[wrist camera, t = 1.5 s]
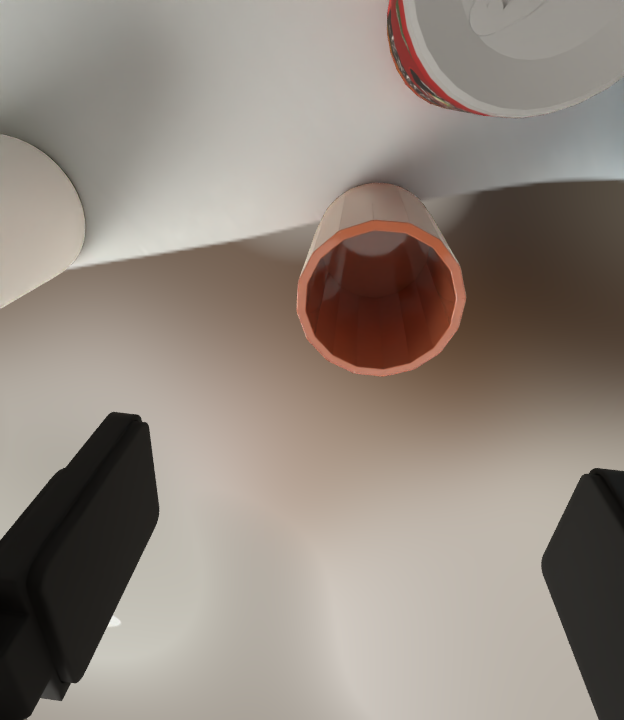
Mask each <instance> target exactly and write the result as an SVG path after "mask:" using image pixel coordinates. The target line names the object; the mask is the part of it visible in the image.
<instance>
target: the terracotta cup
mask: <svg viewBox="0 0 624 720" xmlns="http://www.w3.org/2000/svg"><path fill="white" fill-rule="evenodd" d="M465 301H466V293H465V288H464V283H463V277H462V272H461V267H460V265H459V263H458V261H457V260H456V258H455V256H454V255H453V253H452V251H451V249H450V247H449V245H448V244H447V242H446V240H445V238H444V237H443V235H442V233H441V232H440V230H439V228H438V226H437V224H436V222H435V221H434V219H433V217H432V216H431V214H430V213H429V212H428V210H427V209H426V207H425V206H424V204H423V203H422V202H421V201H420V199H419V198H418V197H416V196H415V195H414V194H412V193H411V192H409V191H408V190H406V189H404V188H402V187H400V186H396V185H393V184H388V183H367V184H363V185H359V186H357V187H354V188H352V189H350V190H348V191H346V192H345V193H343V194H342V195H340V196H339V197H338V198H337V199H336V200H335V201H334V202H333V203H332V204H331V205H330V206H329V207H328V209H327V210H326V212H325V214H324V215H323V217H322V219H321V222H320V224H319V226H318V228H317V230H316V233H315V236H314V238H313V241H312V244H311V247H310V250H309V253H308V255H307V258H306V261H305V264H304V266H303V270H302V272H301V275H300V278H299V281H298V292H297V314H298V317H299V320H300V322H301V325H302V328H303V330H304V333H305V335H306V338H307V340H308V341H309V342H310V343H311V344H312V345H313V346H314V347H315V348H316V349H317V350H318V351H319V353H321V355H322V356H323V357H324V358H325V359H326V360H327V361H329V362H331V363H333V364H335V365H337V366H339V367H342V368H344V369H346V370H348V371H350V372H352V373H355V374H365V375H374V376H389V375H393V374H397V373H402V372H406V371H410V370H413V369H416V368H417V367H419V366H421V365H422V364H424V363H425V362H427V361H428V360H430V359H432V358H433V357H435V356H436V355H438V354H439V353H440V352H441V351H442V350H443V349H444V347H445V346H446V345H447V343H448V342H449V340H450V339H451V338H452V336H453V335H454V334H455V332H456V331H457V330H458V328H459V325H460V322H461V318H462V313H463V309H464V305H465Z"/></svg>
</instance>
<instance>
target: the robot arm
mask: <svg viewBox="0 0 624 720" xmlns="http://www.w3.org/2000/svg"><path fill="white" fill-rule="evenodd" d="M158 517H159V502H158V495H157V487H156V479H155V471H154V463H153V456H152V448H151V439H150V432H149V426H148V424H147V423H146V422H142V420H141V417H140V416H139V415H136V414H127V413H118V412H112V413H110V414H109V415H108V416H107V417H106V418H105V419H104V421H103V422H102V423H101V424H100V426H99V427H98V428H97V429H96V431H95V432H94V433H93V434H92V435H91V437H90V438H89V439H88V440H87V442H86V443H85V444H84V445H83V447H82V448H81V449H80V450H79V452H78V453H77V454H76V455H75V457H74V458H73V459H72V460H71V462H70V463H69V464H68V465H67V466H66V468H63V469H61V470H59V471H58V472H57V473H56V474H55V475H54V476H53V477H52V478H51V479H50V480H49V482H48V483H47V484H46V486H45V487H44V488H43V489H42V490H41V491H40V493H39V494H38V495H37V497H36V498H35V499H34V500H33V501H32V502H31V504H30V505H29V506H28V507H27V509H26V510H25V511H24V512H23V513H22V515H21V516H20V517H19V518H18V520H17V521H16V522H15V523H14V525H13V526H12V527H11V528H10V529H9V531H8V532H7V533H6V534H5V535H4V536H3V538H2V539H1V540H0V720H27V718H28V717H29V716H30V715H31V714H32V712H33V710H34V708H35V706H36V705H37V703H38V701H39V699H40V698H44V699H51V700H58V701H62V699H63V698H64V696H65V694H66V692H67V690H68V688H69V686H70V684H71V683H77V682H79V681H80V679H81V678H82V677H83V675H84V673H85V671H86V669H87V667H88V665H89V663H90V660H91V659H92V657H93V655H94V652H95V650H96V648H97V646H98V644H99V642H100V640H101V638H102V636H103V634H104V632H105V630H106V628H107V626H108V624H109V622H110V619H111V617H112V615H113V613H114V611H115V609H116V607H117V605H118V603H119V601H120V599H121V596H122V595H123V593H124V590H125V588H126V586H127V584H128V582H129V580H130V578H131V576H132V574H133V572H134V570H135V568H136V566H137V564H138V562H139V559H140V557H141V555H142V553H143V551H144V549H145V547H146V545H147V543H148V541H149V539H150V537H151V535H152V533H153V530H154V528H155V526H156V524H157V521H158ZM541 563H542V565H541V567H542V573H543V576H544V579H545V581H546V584H547V586H548V589H549V592H550V594H551V597H552V599H553V602H554V605H555V607H556V610H557V612H558V615H559V618H560V620H561V623H562V625H563V628H564V630H565V633H566V636H567V638H568V641H569V644H570V646H571V649H572V651H573V654H574V657H575V659H576V662H577V664H578V667H579V670H580V672H581V675H582V677H583V680H584V682H585V685H586V688H587V690H588V693H589V695H590V697H591V701H592V703H593V706H594V708H595V711H596V714H597V716H598V719H599V720H624V471H618V470H608V469H600V468H595V469H593V470H591V471H590V473H589V474H584V475H582V477H581V478H580V480H579V482H578V484H577V486H576V488H575V490H574V493H573V495H572V497H571V499H570V501H569V503H568V505H567V507H566V509H565V511H564V514H563V515H562V517H561V519H560V521H559V523H558V526H557V528H556V530H555V532H554V534H553V536H552V538H551V540H550V542H549V544H548V547H547V548H546V550H545V552H544V555H543V557H542V562H541Z"/></svg>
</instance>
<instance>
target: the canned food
mask: <svg viewBox="0 0 624 720" xmlns="http://www.w3.org/2000/svg"><path fill="white" fill-rule="evenodd" d="M387 35H388V41H389V46H390V52H391V55H392V58H393V61H394V63H395V66H396V69H397V71H398V72H399V74H400V76H401V77H402V79H403V80H404V82H405V84H406V85H407V86H408V87H409V88H410V89H411V90H412V91H413V92H414V93H415V94H416V95H417V96H419V97H421V98H422V99H424V100H425V101H427V102H429V103H430V104H433V105H436V106H439V107H443V108H446V109H451V110H456V111H462V112H467V113H472V114H477V115H483V116H493V117H506V118H523V117H531V116H539V115H545V114H548V113H552V112H555V111H558V110H562V109H565V108H568V107H571V106H574V105H577V104H579V103H581V102H583V101H585V100H587V99H589V98H591V97H593V96H595V95H596V94H598V93H600V92H602V91H604V90H606V89H608V88H609V87H610V86H612V85H613V84H615V83H616V82H617V81H619V80H620V79H621V78H623V77H624V0H389V6H388V13H387Z"/></svg>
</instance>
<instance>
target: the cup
mask: <svg viewBox="0 0 624 720" xmlns="http://www.w3.org/2000/svg"><path fill="white" fill-rule="evenodd" d="M84 238H85V217H84V212H83V208H82V205H81V202H80V199H79V196H78V194H77V192H76V190H75V188H74V186H73V185H72V183H71V181H70V180H69V179H68V177H67V176H66V174H65V173H64V172H63V171H62V170H61V168H60V167H59V166H58V165H57V164H56V163H55V162H54V161H53V160H52V159H51V158H50V157H48V156H47V155H46V154H45V153H43V152H42V151H40V150H39V149H37V148H36V147H34V146H32V145H30V144H28V143H27V142H24V141H22V140H20V139H17V138H14V137H11V136H6V135H0V309H1V308H3V307H4V306H6V305H8V304H9V303H11V302H13V301H15V300H16V299H18V298H20V297H21V296H23V295H25V294H26V293H28V292H30V291H32V290H33V289H35V288H37V287H39V286H40V285H42V284H44V283H45V282H47V281H49V280H50V279H52V278H54V277H55V276H57V275H59V274H60V273H62V272H63V271H64V270H66V269H67V268H68V267H69V266H70V265H71V264H72V263H73V262H74V261H75V260H76V258H77V257H78V255H79V253H80V251H81V249H82V246H83V242H84Z"/></svg>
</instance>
